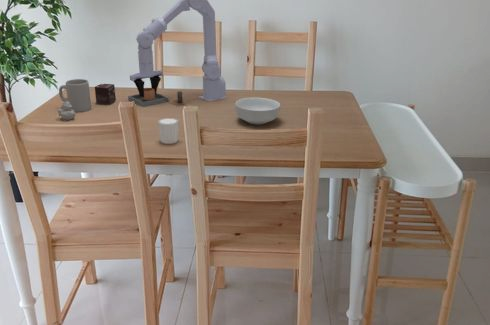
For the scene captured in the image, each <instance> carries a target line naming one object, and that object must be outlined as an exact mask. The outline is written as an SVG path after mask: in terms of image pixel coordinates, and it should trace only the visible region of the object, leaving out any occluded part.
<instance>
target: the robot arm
mask: <svg viewBox="0 0 490 325" xmlns="http://www.w3.org/2000/svg"><path fill="white" fill-rule="evenodd" d="M191 9H192V10H194V11H196V12H198V13H199V14H200V15H201V16H202V26H203V27H202V28H203V48H204V56H203V63H202V66H201V71H202V73H204V74H203V76H202V95H200V96H199V98H201V99H203V100H207V101H209V102H212V101H216V100H221V99H225V98H227V95H226V92H227V90H226V88H227V87H226V86H227V85H226V80H225V78H224V77H223V76H221V74H222V73H221V68H220V65H219V60H218V56H217V38H216V37H217V36H216V12H215V9H214V8H213V6H212V5H211V3H210V2H209V1H208V0H178V1H177V2H176V3H175V4H174V5H173V6H172V7H171V8H170V9H169V10H168V11H167V12H166V13H165V14H164V15H162V17H155V18H152V19H151V20H150V21H151V22H150V23H149V25H146V27H143V28H142V31H140V32H138V33H137V36H136V42H137V50H138V51H137V57H138V68H139V72H137V73H135V74H130V75H129V80H130V81H132V82H134V84H135V87H136V89H137V92H138V94H140V96H141V97H144V88H145V81H144V80H143V79H149V81H150V88H153V89H155V94H156V93H157V90H158V87H159V84H160V82H161V80H162V79H161V78H162V77H164V71H163V70H161V69H160V70H154V56H153V54H154V52H153V48H152V47H153V45H154V44H153V43H154V41H155V40H157V39H158V38H159V37H160V36H161V35H162V34H164V32H165V31H167V29H168V24H170V23H171V22H172V21H173V20H174V19H175V18H176V17H178V16H179V15H180V14H181V13H182V12H187V11H191Z"/></svg>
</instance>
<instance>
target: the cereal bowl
mask: <svg viewBox="0 0 490 325" xmlns="http://www.w3.org/2000/svg"><path fill="white" fill-rule="evenodd" d="M234 105H235V106H234V107H235V112H236V115H237V117H239V119H240V120H241V119H242V120H243V121H245V122H246V123H248V124H250V125H265V124H268V123H269V122H270V123H271V122H272V121H274V120H275V119H277V117H278V116H279V114H280V111H281V103H280V102H279V101H277V100H274V99H271V98H266V97H265V98H264V97H253V96H252V97H244V98H240V99H238V100H237V101H236V102H235V104H234Z"/></svg>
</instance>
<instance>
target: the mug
mask: <svg viewBox="0 0 490 325" xmlns="http://www.w3.org/2000/svg"><path fill="white" fill-rule="evenodd" d="M63 90H65V91H66V97H65V96H64V95H63ZM58 94H59V98H60V101H62V102H63V103H64V102H65V101H66V99H67V101H68V102H69V103H70V104H71V105H72V108H71V109H73V110H74V112H75V113H83V112H84V113H85V112H88V111H91V110H92V102H91V92H90V84H89V81H88V80H87V79H81V78H79V79H78V78H75V79H70V80H67V81H65V84H62V85H60V86H59V88H58Z"/></svg>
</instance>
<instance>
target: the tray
mask: <svg viewBox="0 0 490 325" xmlns="http://www.w3.org/2000/svg"><path fill="white" fill-rule="evenodd" d="M127 99H128V101H129V102H131V101H134V102H135V103H134V102H133V103H134V104H136V105H139V106H141V107H143V108H145V107H150V106H156V105H158V104H164V103H168V102H169V101H170V100H169V97H168V96H166V95H163V94H161V93H158V92H156V94H155V98H154V99H151V100H144V99H141V96H140V94H139V93H137V94H132V95H128V96H127Z"/></svg>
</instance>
